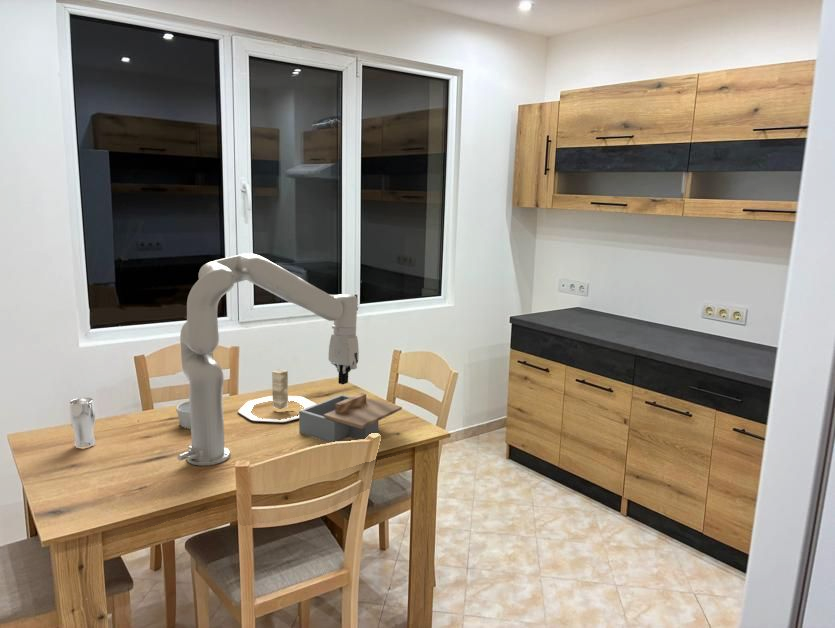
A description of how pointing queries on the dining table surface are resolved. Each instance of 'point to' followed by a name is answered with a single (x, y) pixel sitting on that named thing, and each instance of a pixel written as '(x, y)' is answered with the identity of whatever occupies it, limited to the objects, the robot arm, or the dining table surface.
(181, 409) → the ramekin
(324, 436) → the toolbox
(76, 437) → the beer glass
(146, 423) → the dining table surface
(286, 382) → the rectangular block
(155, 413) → the dining table surface
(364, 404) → the lid
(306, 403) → the plate
